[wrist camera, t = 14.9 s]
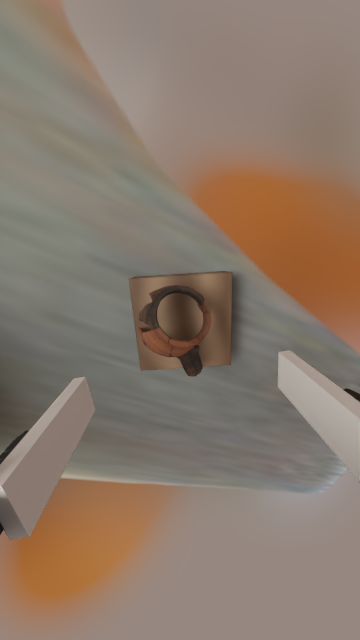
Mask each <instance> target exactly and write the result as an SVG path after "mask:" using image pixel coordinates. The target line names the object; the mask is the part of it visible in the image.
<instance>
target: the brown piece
mask: <svg viewBox="0 0 360 640" xmlns="http://www.w3.org/2000/svg"><path fill="white" fill-rule="evenodd" d="M172 293H182V294H186V295H188V296H190V297H192V298H193V299H194V300H195V301H196V302H197V303H198V307H199V308H200V310H201V311H202V313H203V325H202V328H201V330H200V332H199V333H198V334H197V335H196V336H195V337H194V338H192V339H189V340H185V341H182V340H176V339H173V338H171V337H170V336H168V335H167V334H166V333H165V332H164V331H163V330H162V328H161V327H160V326H159V323H158V319H157V309H158V306H159V304H160V301H161V300H162V299H163V298H164V297H166V296H167V295H169V294H172ZM149 295H150V297H151V299H152V302H151V303H148V304H147V305H145V306H144V308H143V309H142V310H141V311H140V312H139V321H143V322H144V323H145V324H147V325H148V326H150V327H151V328H152V330H149V331H147V332H143V329H142V328H141V327H139V328H138V332H139V335H140V337H141V340H142V341H143V343H144V345H145V346H146V347H147V348H148V349H149V350H151V351H152V352H154V353H156V354H159V355H161V356H164V357H177V358H178V359H179V360H180V362H181V364H182V366H183V368H184V370H185V372H186V373H187V375H188V376H196V375H197V374H199V373H200V372H201V370H202V367H203V365H202V361H201V358H200V356H199V345H196V344H198V343H201V342H202V340H203V339H204V337H205V336H206V335H207V333H208V331H209V329H210V326H211V313H210V312H207V308H206V306H205V304H204V297H203V296H202V295H201V294H200V293H199V292H197V291H196V290H194V289H193V288H190V287H187V286H180V285H174V286H171V285H169V286H165V287H162V288H160V289H157V290H155V291H152V292H151V293H149Z"/></svg>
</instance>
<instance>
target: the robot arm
mask: <svg viewBox="0 0 360 640" xmlns="http://www.w3.org/2000/svg"><path fill="white" fill-rule="evenodd" d="M278 388H279V389H280V390H281V391H282V392H283V393H284V395H285V396H286V397H287V398H288V399H289V400H290V402H291V403H292V404H293V405H294V406H295V408H296V409H297V410H298V411H299V412H300V413H301V415H302V416H303V417H304V418H305V419H306V420H307V422H308V423H309V424H310V425H311V426H312V427H313V429H314V430H315V431H316V432H317V433H318V434H319V436H320V437H321V438H322V439H323V440H324V441H325V443H326V444H327V445H328V446H329V447H330V448H331V450H332V451H333V452H334V453H335V454H336V455H337V457H338V458H339V459H340V460H341V461H342V463H343V464H344V465H345V466H346V467H347V468H348V470H349V471H351V473H352V474H353V475H354V477H355V478H356V479H357V480H358V481H359V482H360V394H359V393H357V392H354V391H352V390H350V389H341V388H340V387H339V386H337V385H336V384H335V383H333V382H332V381H331V380H329V379H328V378H326V377H325V376H324V375H322V374H321V373H320V372H318V371H317V370H316V369H314V368H313V367H312V366H310V365H309V364H308V363H306V362H305V361H304V360H302V359H301V358H299V357H298V356H297V355H295V354H294V353H293V352H291V351H282V352H279V360H278ZM94 412H95V407H94V404H93V400H92V397H91V394H90V391H89V387H88V384H87V381H86V377H81V378H74V379H73V380H72V381H71V383H70V384H69V385H68V386H67V387H66V388H65V390H64V391H63V392H62V393H61V394H60V395H59V397H58V398H57V399H56V400H55V401H54V402H53V404H52V405H51V406H50V407H49V408H48V409H47V411H46V412H45V413H44V414H43V415H42V416H41V418H40V419H39V420H38V421H37V422H36V423H35V425H34V426H33V427H32V428H31V429H30V430H29V431H25V432H24V433H23V434H21V435H20V436H19V437H17V438H16V439H15V440H14V441H13V442H12V443H11V444H10V445H9V446H8V447H7V449H6V450H5V452H4V453H2V454H1V455H0V534H1V533H2V531H3V530H4V531H5V533H6V535H7V536H8V538H9V539H18V538H25V537H30V535H31V533H32V531H33V529H34V527H35V525H36V523H37V521H38V519H39V517H40V516H41V514H42V512H43V510H44V508H45V506H46V504H47V502H48V500H49V498H50V496H51V494H52V493H53V490H54V489H55V487H56V485H57V483H58V481H59V479H60V477H61V475H62V473H63V472H64V470H65V468H66V466H67V464H68V462H69V460H70V458H71V456H72V454H73V452H74V451H75V449H76V447H77V445H78V443H79V441H80V439H81V437H82V435H83V433H84V431H85V429H86V428H87V426H88V424H89V422H90V420H91V418H92V416H93V414H94Z"/></svg>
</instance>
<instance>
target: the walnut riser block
mask: <svg viewBox="0 0 360 640" xmlns="http://www.w3.org/2000/svg"><path fill="white" fill-rule="evenodd" d="M129 285H130V293H131V300H132V308H133V315H134V323H135V330H136V338H137V345H138V353H139V360H140V368H141V371H142V370H158V369H173V368H183V366H182V364H181V362H180V360H179V359H178V358H177V357H164V356H161V355H159V354H156V353H154V352H152V351H151V350H149V349H148V348H147V347H146V346H145V345H144V343H143V341H142V340H141V337H140V335H139V332H138V328H139V327H141V328H142V329H143V332H147V331H149V330H152V328H151V327H150V326H148V325H147V324H145V323H144V322H143V321H139V312H140V311H141V310H142V309H143V308H144V306H145V305H147V304H148V303H151V302H152V299H151V297H150V295H149V293H151V292H152V291H155V290H157V289H160V288H162V287H165V286H169V285H171V286H174V285H180V286H187V287H190V288H193V289H194V290H196V291H197V292H199V293H200V294H201V295H202V296H203V297H204V304H205V306H206V308H207V312H210V313H211V326H210V329H209V331H208V333H207V335H206V336H205V337H204V339H203V340H202V342H201V343H198V344H196V345H199V356H200V358H201V361H202V365H203V367H205V366H221V365H231V306H232V272H226V271H220V272H204V273H188V274H173V275H157V276H141V277H133V278H130V279H129ZM157 319H158V323H159V326H160V327H161V328H162V330H163V331H164V332H165V333H166V334H167V335H168V336H170V337H171V338H173V339H176V340H182V341H185V340H189V339H192V338H194V337H195V336H196V335H197V334H198V333H199V332H200V330H201V328H202V325H203V313H202V311H201V310H200V308H199V307H198V303H197V302H196V301H195V300H194V299H193V298H192V297H190V296H188V295H186V294H182V293H172V294H169V295H167V296H166V297H164V298H163V299H162V300H161V301H160V304H159V306H158V309H157Z"/></svg>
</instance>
